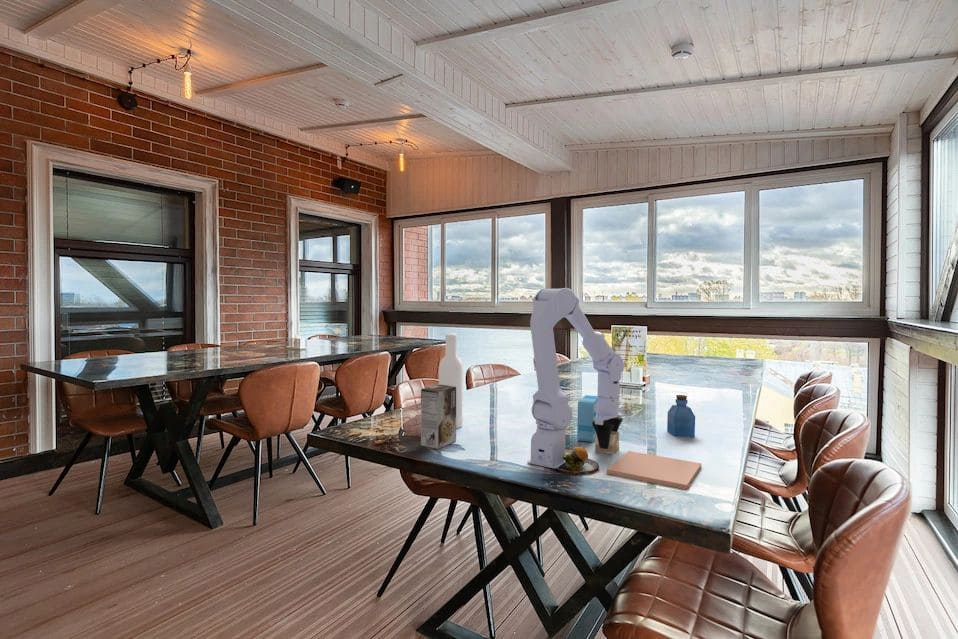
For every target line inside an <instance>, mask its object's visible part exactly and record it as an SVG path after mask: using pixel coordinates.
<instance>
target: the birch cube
mask: <svg viewBox="0 0 958 639" xmlns="http://www.w3.org/2000/svg"><path fill="white" fill-rule="evenodd" d="M619 451H620V432H619V431H618V432H614V431H611V435H610V440H609V446H608V449H604V448H600V447H599V443H598V438H597V434H596V433H595V441H594V452H597V453H600V454H601V453H602V454H606V455H616V453H617V452H619Z"/></svg>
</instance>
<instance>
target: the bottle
mask: <svg viewBox="0 0 958 639" xmlns="http://www.w3.org/2000/svg"><path fill="white" fill-rule="evenodd" d="M457 336H458V334H457V333H446V334H445V339H444V340H445V356H443V357H442V358H441V359H440V360H439V365H438V385H448V386H454V387H456V430H457V429H460V428H462V427H463V422H464V417H463V416H464V415H463V411H464V410H463V409H464V408H463V407H464V404H463V402H464V401H463V400H464V397H463V396H464V393H463V392H464V365H463V362H462V359H461V358H460V357H459V356H458V355H457V354H458V353H457V351H458V350H457V349H458V337H457Z"/></svg>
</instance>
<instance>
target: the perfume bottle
mask: <svg viewBox="0 0 958 639" xmlns="http://www.w3.org/2000/svg"><path fill="white" fill-rule="evenodd" d="M675 396H676V399H675V403H676V404H672V405H671V407H670V408H669V409H668V411H667V418H666V419H667V420H666V421H667V424H666V426H667V427H666V428H667V429H666V431H667V433H669V434H670V435H671V436H673V437H679V438H683V437H684V438H686V437H687V438H688V437H689V438H692V437H693V438H695V437H696V434H695V433H696V431H695V430H696V429H695V428H696V416H695V413H694V412H693V410H692V408H691V407H690V406H688V405H687V404H688V402H689V401H688V395H685V394H676V395H675Z"/></svg>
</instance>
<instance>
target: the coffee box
mask: <svg viewBox="0 0 958 639" xmlns="http://www.w3.org/2000/svg"><path fill="white" fill-rule="evenodd" d="M420 395H421V396H420V410H421V411H420V422H421V423H420V446H422V447H428V448H432V449H437V450H440V449H441V448H444V447H445V446H448V445H450V444H453V443H454V442H457V429H456V387H454V386H448V385H439V384H436V385H432V386H427V387H424V388H420Z"/></svg>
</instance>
